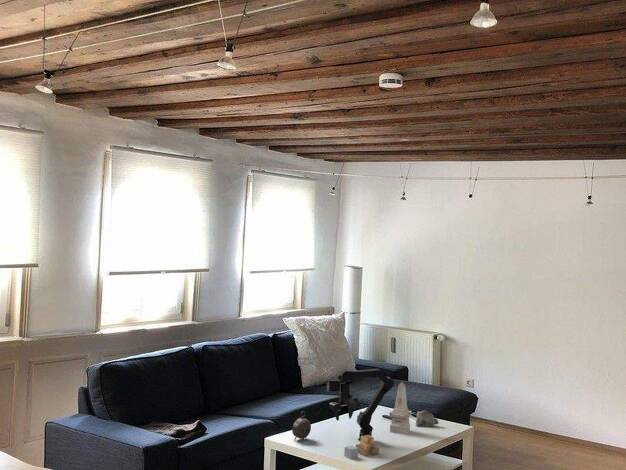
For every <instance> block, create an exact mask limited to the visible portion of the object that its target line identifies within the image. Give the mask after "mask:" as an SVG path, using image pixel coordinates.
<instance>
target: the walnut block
mask: <svg viewBox="0 0 626 470" xmlns="http://www.w3.org/2000/svg"><path fill="white" fill-rule="evenodd" d="M355 447H357V448H358V454H360V455H362V456H363V457H370V456H375V455H377V456H378V455H380V447H379V446H377V445H373V447H369V448H365V447H363V446H361V445H360V443H357V444H355Z"/></svg>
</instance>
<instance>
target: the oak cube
mask: <svg viewBox="0 0 626 470" xmlns="http://www.w3.org/2000/svg"><path fill="white" fill-rule="evenodd" d="M374 440H375V437H374V436H369V435H364V436H361V441H360V440H359V441H360V443H359V444H360V445H361V446H363V447H365V448H369V447H373V445H374V443H375V441H374Z"/></svg>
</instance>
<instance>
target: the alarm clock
mask: <svg viewBox="0 0 626 470" xmlns="http://www.w3.org/2000/svg"><path fill="white" fill-rule="evenodd" d="M303 412H304V415H302V413H303ZM305 416H306V411H305V410H303V411H301V412H300V417H299V418H297V419H296V420H295V421H294V423H293V424H292V428H291V431H292V432H291V433H292V434H293V436H294V437H295V438H294V441H293V442H295V441H296V439H300V440H302V441H305V439H307V437H308V436H309V435H310V432H311V430H312V425H311V422H310V421H309V420H308V419H307V418H305Z"/></svg>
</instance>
